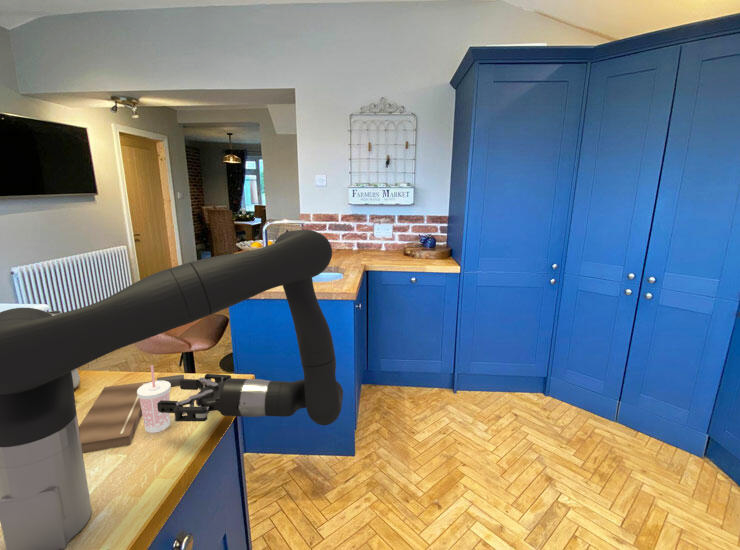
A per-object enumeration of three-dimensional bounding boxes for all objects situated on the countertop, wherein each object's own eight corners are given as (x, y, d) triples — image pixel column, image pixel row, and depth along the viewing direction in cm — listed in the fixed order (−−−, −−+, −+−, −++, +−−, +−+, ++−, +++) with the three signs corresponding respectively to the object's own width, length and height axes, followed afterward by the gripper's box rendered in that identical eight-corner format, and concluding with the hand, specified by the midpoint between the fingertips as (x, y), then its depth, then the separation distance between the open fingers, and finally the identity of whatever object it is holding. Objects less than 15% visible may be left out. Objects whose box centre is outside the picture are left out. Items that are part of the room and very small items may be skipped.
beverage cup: (176, 415, 80) (171, 357, 77) (170, 432, 75) (165, 371, 72) (145, 419, 79) (139, 360, 76) (137, 437, 73) (129, 374, 70)
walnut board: (169, 437, 73) (169, 428, 73) (67, 455, 67) (66, 445, 67) (184, 381, 95) (183, 374, 94) (107, 391, 89) (106, 383, 88)
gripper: (257, 365, 81) (185, 362, 81) (234, 400, 68) (148, 397, 67) (258, 395, 83) (187, 392, 83) (236, 435, 69) (151, 432, 69)
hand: (170, 394), depth 75 cm, fingers open, 8 cm apart
